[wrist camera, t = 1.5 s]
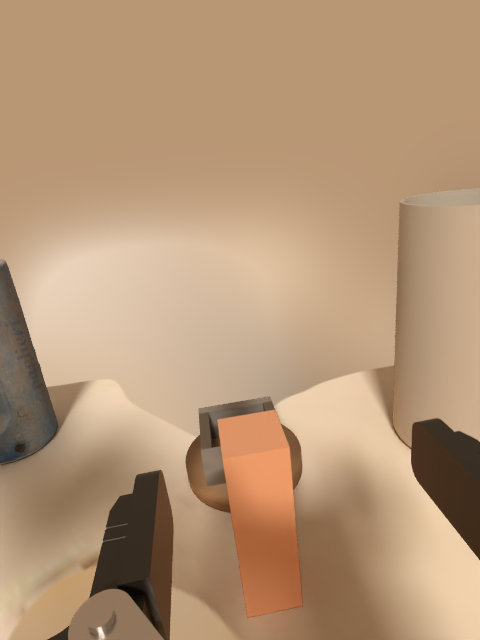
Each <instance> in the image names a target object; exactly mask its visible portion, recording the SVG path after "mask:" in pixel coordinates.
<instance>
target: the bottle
mask: <svg viewBox="0 0 480 640" xmlns="http://www.w3.org/2000/svg"><path fill="white" fill-rule="evenodd" d="M57 428H58V423H57V419H56V416H55V413H54V410H53V407H52V403H51V400H50V397H49V394H48V391H47V388H46V385H45V382H44V379H43V375H42V372H41V367H40V364H39V363H38V360H37V357H36V353H35V349H34V347H33V344H32V341H31V338H30V334H29V331H28V328H27V324H26V321H25V318H24V315H23V311H22V308H21V305H20V301H19V298H18V296H17V293H16V289H15V286H14V284H13V280H12V278H11V274H10V271H9V268H8V266H7V263H6V261H4V260H2V259H0V464H4V463H9V462H13V461H16V460H19V459H22V458H24V457H26V456H28V455H30V454H32V453H34V452H36V451H38V450H39V449H41V448H42V447H43V446H44V445H46V444H47V443H48V442H49V441H50V440H51V439H52V437H53V436H54V435H55V433H56V430H57Z"/></svg>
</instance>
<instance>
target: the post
mask: <svg viewBox="0 0 480 640" xmlns="http://www.w3.org/2000/svg"><path fill="white" fill-rule="evenodd" d="M217 422H218V429H219V437H220V444H221V452H222V459H223V466H224V472H225V478H226V485H227V491H228V497H229V503H230V510H231V516H232V522H233V529H234V535H235V541H236V547H237V554H238V560H239V566H240V573H241V579H242V585H243V592H244V598H245V604H246V610H247V617H248V618H249V617H253V616H258V615H262V614H267V613H272V612H276V611H281V610H286V609H290V608H295V607H300V606H303V605H302V593H301V581H300V568H299V556H298V544H297V532H296V520H295V508H294V495H293V483H292V471H291V459H290V447H289V444H288V442H287V439H286V437H285V434H284V431H283V429H282V426H281V424H280V421H279V418H278V416H277V413H276V411H275V410H270V411H264V412H258V413H253V414H247V415H241V416H235V417H229V418H224V419H218V420H217Z"/></svg>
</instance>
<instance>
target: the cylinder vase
mask: <svg viewBox="0 0 480 640" xmlns="http://www.w3.org/2000/svg"><path fill="white" fill-rule="evenodd" d="M399 210H400V211H399V240H398V271H397V304H396V335H395V366H394V398H393V424H394V428H395V430H396V432H397V434H398V435H399V437H400V438H401V439H402V440H403V441H404V443H406V444H407V445H408V446H409V447H410V448H411V447H412V425H413V423H415V422H419V421H424V420H429V419H434V418H439V419H441V420H442V421H443V422H444V423H446V424H447V425H448V426H449V427H450V428H451V429H452V430H453V431H454V432H456V431H461V432H463V433H465V434H467V435H469V436H471V437H473V438H475V439H477V440H478V441H479V442H480V188H478V189H464V190H453V191H443V192H435V193H428V194H422V195H416V196H412V197H408V198H404V199H402V200H400V209H399Z"/></svg>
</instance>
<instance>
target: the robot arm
mask: <svg viewBox="0 0 480 640" xmlns="http://www.w3.org/2000/svg"><path fill="white" fill-rule="evenodd" d="M411 464H412V469H413V472H414V475H415V477H416V479H417V481H418V482H419V484H420V485H421V486H422V487H423V489H424V490H425V491H426V493H427V494H428V495H429V496H430V498H431V499H432V500H433V501H434V503H435V504H436V505H437V506H438V508H439V509H440V510H441V512H442V513H443V514H444V515H445V517H446V518H447V519H448V520H449V522H450V523H451V524H452V526H453V527H454V528H455V529H456V531H457V532H458V533H459V534H460V536H461V537H462V538H463V539H464V541H465V542H466V543H467V545H468V546H469V547H470V548H471V550H472V551H473V552H474V553H475V555H476V556H477V557H478V558H479V560H480V442H479V441H478V440H477V439H475V438H473V437H471V436H469V435H467V434H465V433H463V432H461V431H456V432H454V431H453V430H452V429H451V428H450V427H449V426H448V425H447V424H446V423H444V422H443V421H442V420H441V419H439V418H434V419H429V420H424V421H419V422H415V423H413V425H412V447H411ZM172 556H173V517H172V511H171V506H170V502H169V497H168V493H167V489H166V485H165V480H164V476H163V473H162V471H161V470H158V471H153V472H148V473H143V474H137V475H136V478H135V484H134V489H133V494H128V495H123V496H120V497H119V498H118V500H117V501H116V503H115V504H114V506H113V507H112V509H111V510H110V513H109V517H108V521H107V525H106V530H105V534H104V538H103V543H102V547H101V551H100V555H99V560H98V564H97V568H96V572H95V577H94V581H93V585H92V589H91V594H90V597H89V599H88V600H87V601H85V602H84V603H83V604H82V606H81V607H80V608H79V609H78V610H77V612H76V613H75V615H74V617H73V618H72V621H71V623H70V625H69V626H68V627H67V628H66V629H64V630H63V631H62V632H60V633H58V634H57V635H55V636H53V637H51V638H50V639H48V640H169V639H170V638H169V637H170V612H171V611H170V610H171V584H172Z"/></svg>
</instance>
